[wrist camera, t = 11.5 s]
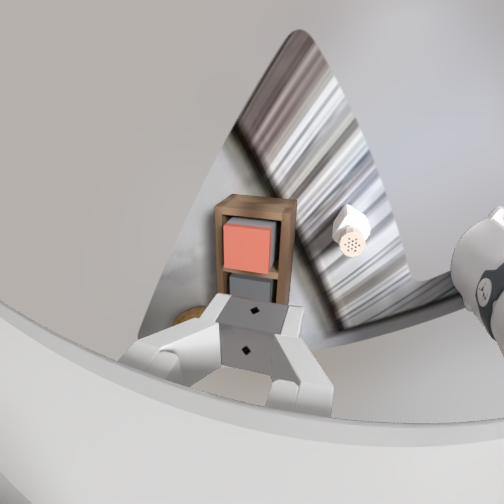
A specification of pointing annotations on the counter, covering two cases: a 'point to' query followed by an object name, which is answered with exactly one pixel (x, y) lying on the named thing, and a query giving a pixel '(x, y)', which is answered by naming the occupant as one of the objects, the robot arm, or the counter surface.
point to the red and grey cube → (250, 243)
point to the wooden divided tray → (287, 221)
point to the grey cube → (253, 287)
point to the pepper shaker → (350, 231)
